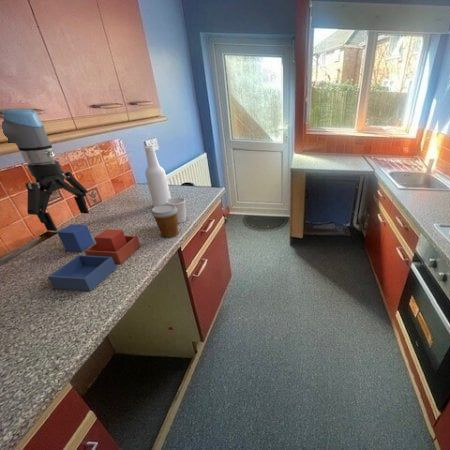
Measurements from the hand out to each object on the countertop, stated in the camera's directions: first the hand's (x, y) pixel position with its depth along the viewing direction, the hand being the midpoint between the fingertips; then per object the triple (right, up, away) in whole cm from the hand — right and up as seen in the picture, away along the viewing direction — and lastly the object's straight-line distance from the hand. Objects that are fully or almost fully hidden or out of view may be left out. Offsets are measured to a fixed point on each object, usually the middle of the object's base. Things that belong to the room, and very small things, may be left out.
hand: (69, 221), depth 90 cm
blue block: (-1, -10, +5) cm, 11 cm away
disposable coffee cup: (+28, -5, +16) cm, 33 cm away
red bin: (+15, -12, +2) cm, 19 cm away
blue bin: (+15, -18, -10) cm, 25 cm away
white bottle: (+11, +9, +41) cm, 44 cm away
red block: (+15, -11, +2) cm, 19 cm away
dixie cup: (+26, +1, +27) cm, 38 cm away
